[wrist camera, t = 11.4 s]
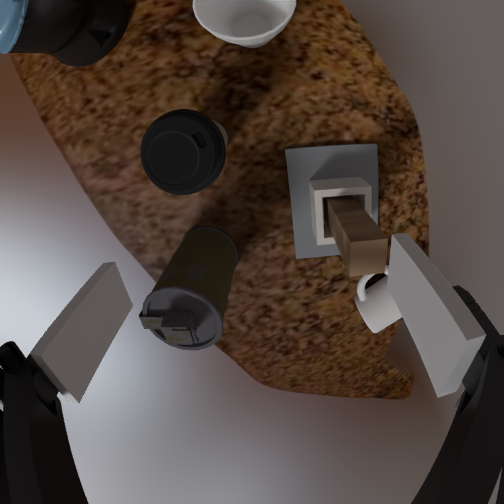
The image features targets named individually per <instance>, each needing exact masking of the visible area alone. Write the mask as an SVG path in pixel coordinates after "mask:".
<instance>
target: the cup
mask: <svg viewBox="0 0 504 504" xmlns="http://www.w3.org/2000/svg"><path fill="white" fill-rule="evenodd" d="M295 7H296V0H193V10H194V13H195V16H196V18H197V20H198V21H199V22H200V24H201V25H202V26H203V27H204V28H206V29H207V30H208V31H209V32H211V33H212V34H213V35H215V36H216V37H218V38H220V39H223V40H225V41H227V42H230V43H234V44H239V45H241V46H244V47H247V48H257V47H261V46H263V45H265V44H266V43H268V42H269V41H270V39H272V38H273V37H274V36H276V35H277V34H278V33H279V32H281V31H282V30H283V29H284V28H285V26H286V25H287V24H288V22H289V21H290V19H291V17H292V15H293V13H294V10H295Z"/></svg>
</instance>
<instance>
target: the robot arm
mask: <svg viewBox="0 0 504 504" xmlns="http://www.w3.org/2000/svg"><path fill="white" fill-rule="evenodd" d="M128 16H129V9H128V4H127V2H126V0H0V52H1V53H3V54H4V53H45V54H50V55H51V56H54V57H56V58H57V60H59V61H60V62H61V63H63V64H65V65H69V66H78V67H81V66H87V65H90V64H93V63H95V62H97V61H99V60H100V59H102V58H103V57H104V56H106V55H107V54H108V53H109V52H110V51H111V50H112V49H113V48H114V47H115V45H116V44H117V43H118V41H119V40H120V38H121V36H122V35H123V33H124V31H125V28H126V25H127V22H128ZM387 288H388V290H389V291H390V293H391V295H392V297H393V299H394V301H395V303H396V305H397V307H398V309H399V311H400V313H401V315H402V317H403V319H404V321H405V323H406V325H407V327H408V329H409V331H410V333H411V336H412V338H413V340H414V342H415V344H416V346H417V348H418V351H419V353H420V355H421V358H422V360H423V362H424V365H425V367H426V369H427V372H428V374H429V377H430V379H431V382H432V384H433V387H434V389H435V392H436V394H437V397H441V396H444V395H447V394H450V393H453V392H456V390H457V389H458V387H459V385H460V384H461V382H463V384H464V386H465V391H464V392H463V394H462V395H461V397H460V398H459V400H458V401H457V403H456V405H455V407H457V406H458V405H459V406H458V409H457V411H456V414H455V417H454V419H453V422H452V425H451V427H450V430H449V432H448V434H447V437H446V439H445V441H444V444H443V446H442V448H441V450H440V452H439V454H438V456H437V458H436V460H435V463H434V464H433V466H432V468H431V470H430V472H429V474H428V476H427V478H426V479H425V481H424V483H423V485H422V486H421V488H420V490H419V492H418V493H417V495H416V496H415V498H414V500H413V501H412V503H411V504H488V502H489V499H490V497H491V495H492V492H493V489H494V487H495V485H496V482H497V479H498V477H499V474H500V471H501V468H502V472H501V479H500V485H499V490H498V495H497V500H496V504H504V335H500V334H499V333H498V331H497V330H496V329H495V327H494V326H493V324H492V323H491V321H490V320H489V319H488V317H487V316H486V314H485V313H484V312H483V310H481V308H480V306H479V305H478V304H477V303H476V302H475V300H474V298H473V297H472V296H471V295H470V293H469V292H467V291H466V290H465V289H463V288H462V287H460V286H453V287H452V286H451V285H450V283H449V282H448V281H447V280H446V278H445V277H444V276H443V275H442V273H441V272H440V271H439V270H438V269H437V267H436V266H435V265H434V264H433V263H432V261H431V260H430V259H429V258H428V256H427V255H426V254H425V253H424V252H423V251H422V249H421V248H420V247H419V246H418V245H417V244H416V243H415V242H414V240H413V239H412V238H411V237H410V236H409V235H408V234H407V233H402V234H392V241H391V252H390V262H389V271H388V280H387ZM132 307H133V304H132V302H131V300H130V298H129V296H128V293H127V291H126V288H125V286H124V283H123V281H122V278H121V276H120V273H119V271H118V268H117V266H116V263H115V262H109V263H103V264H102V265H101V266H100V267H99V269H98V270H97V271H96V272H95V273H94V274H93V275H92V276H91V278H90V279H89V280H88V281H87V282H86V283H85V284H84V286H83V287H82V288H81V289H80V290H79V292H78V293H77V294H76V295H75V296H74V297H73V299H72V300H71V301H70V302H69V304H68V305H67V306H66V307H65V308H64V310H63V311H62V312H61V313H60V315H59V316H58V317H57V318H56V320H55V321H54V322H53V323H52V324H51V326H50V327H49V328H48V329H47V331H46V332H45V333H44V335H43V337H41V339H40V340H39V341H38V343H37V344H36V345H35V347H34V348H33V350H32V351H31V353H30V354H29V355H28V357H27V358H25V356H24V355H23V353H22V352H21V350H20V349H19V348H18V346H17V345H16V343H15V342H13V341H9V342H6V343H5V344H3V345H2V346H1V347H0V366H1V367H2V368H3V369H1V367H0V403H1V404H2V405H3V411H2V410H1V409H0V504H88V501H87V498H86V496H85V493H84V490H83V488H82V485H81V482H80V479H79V476H78V473H77V470H76V466H75V463H74V459H73V456H72V453H71V449H70V445H69V440H68V436H67V432H66V428H65V423H64V418H63V413H62V407H61V402H60V400H59V399H58V397H57V394H58V392H60V393H61V394H62V395H63V396H64V397H65V398H66V400H69V401H72V402H75V403H80V401H81V399H82V396H83V395H84V393H85V391H86V389H87V387H88V385H89V383H90V381H91V379H92V377H93V376H94V374H95V372H96V370H97V368H98V366H99V364H100V362H101V361H102V359H103V357H104V355H105V353H106V351H107V350H108V348H109V346H110V344H111V343H112V341H113V339H114V337H115V335H116V334H117V332H118V330H119V329H120V327H121V325H122V323H123V322H124V320H125V318H126V317H127V315H128V313H129V312H130V310H131V308H132Z"/></svg>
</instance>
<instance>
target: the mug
mask: <svg viewBox="0 0 504 504" xmlns="http://www.w3.org/2000/svg"><path fill="white" fill-rule="evenodd" d="M388 271H389V266H388V265H386V267H385V274H386V276H385V277H383V278H382V279H381V280H379V281H378V282H376V283H375V284H373V285H372V286H370V287H369V288H367V289H366V290H365V284H366V282H367V281H368V280H369V279H370V278H371V277H372V276H373V275H375V274H370V275H363V276H362V277H361V279H360V281H359V283H358V286H357V293H358V295H356V296H355V302H356V305H357V307H358V309H359V312H360V313H361V315H362V317H363V319H364V321H365V322H366V324H367V325H368V327H369V328H370V329H371V331H372V332H374V333H377V332H379V331H381V330H382V329H384V328H385V327H387V326H389V325H390V324H392V323H393V322H395V321H396V320H398V319H400V318H401V317H402V315H401V313H400V311H399V309H398V307H397V305H396V303H395V301H394V299H393V297H392V295H391V293H390V291H389V290H388V288H387V280H388Z"/></svg>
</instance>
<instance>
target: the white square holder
mask: <svg viewBox="0 0 504 504" xmlns="http://www.w3.org/2000/svg"><path fill="white" fill-rule="evenodd" d="M309 187H310V200H311V213H312V229H313V233H314V236H315V239H316V243H317V245H326V244H336V242H335V240H334V238H333V236H332V233H331V231H330V229H329V226H328V224H327V222H326V220H325V201H324V197H331V196H344V195H353V196H354V198H355V199H356V200H357V201H358V202H359V203H360V205H361V206H362V207H363V208H364V209H365V211H366V212H367V213H368V214H369V215H370V217H372V186H370V185H369V184H368V183H367V182H366V181H365V180H363V179H362V178H361V177H350V178H335V179H322V180H310V181H309Z"/></svg>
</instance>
